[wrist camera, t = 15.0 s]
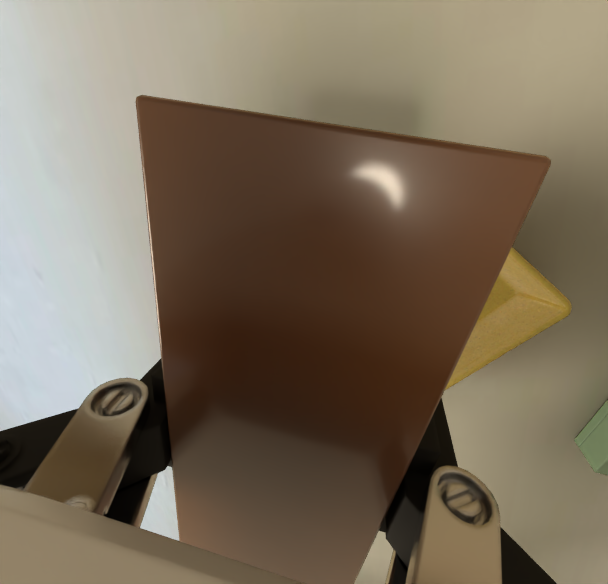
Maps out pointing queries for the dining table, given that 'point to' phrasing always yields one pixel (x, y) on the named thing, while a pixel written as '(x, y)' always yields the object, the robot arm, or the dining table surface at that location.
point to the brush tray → (596, 441)
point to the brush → (311, 316)
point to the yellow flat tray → (511, 315)
